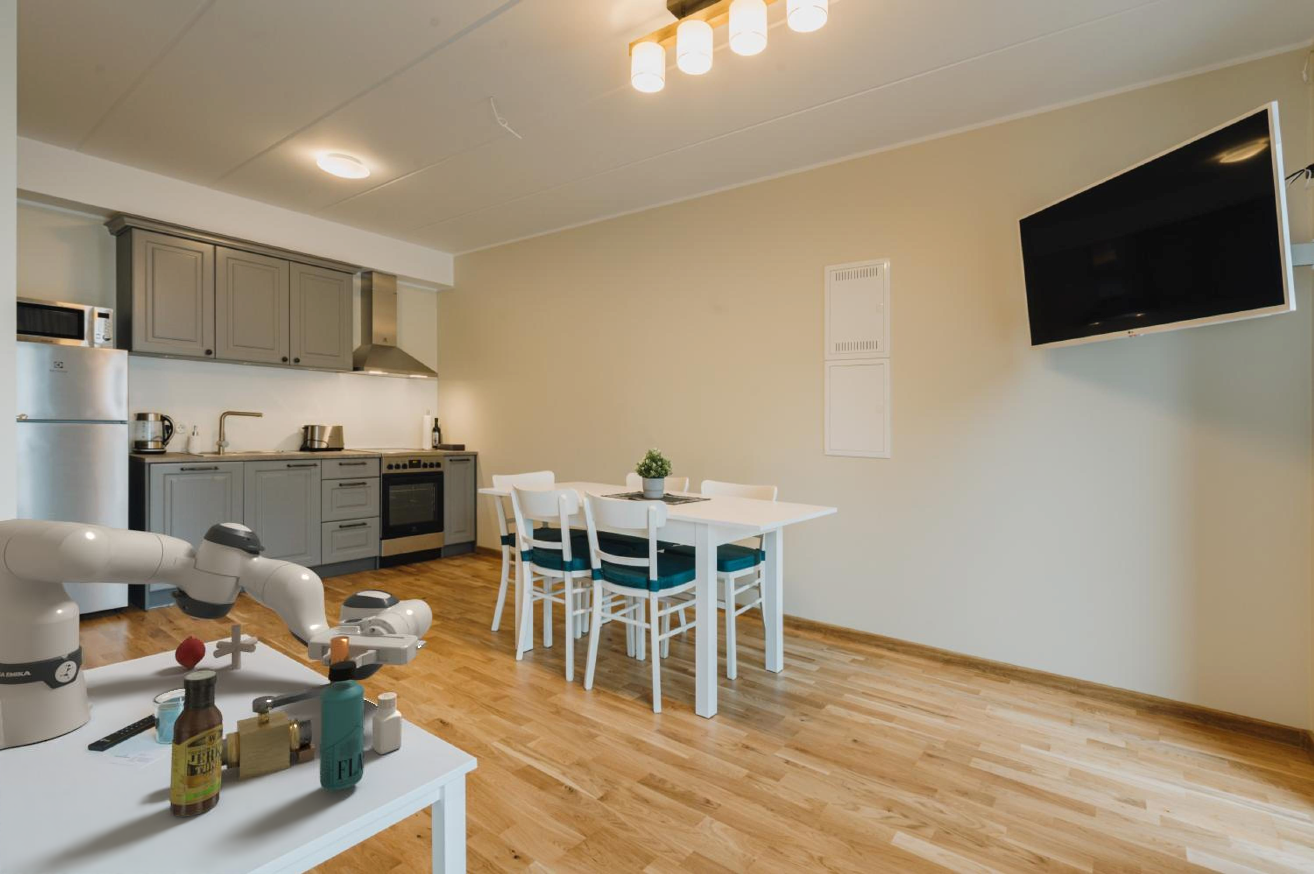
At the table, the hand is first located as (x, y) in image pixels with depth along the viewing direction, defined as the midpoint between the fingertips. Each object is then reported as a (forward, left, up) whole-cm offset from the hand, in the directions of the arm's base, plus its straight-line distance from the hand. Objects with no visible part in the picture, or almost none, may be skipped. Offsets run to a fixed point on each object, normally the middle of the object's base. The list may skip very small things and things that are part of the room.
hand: (339, 662), depth 115 cm
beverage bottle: (+9, -13, -15) cm, 22 cm away
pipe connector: (-46, +29, -15) cm, 56 cm away
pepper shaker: (+9, 0, -15) cm, 18 cm away
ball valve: (-9, -10, -15) cm, 20 cm away
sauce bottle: (-9, -21, -15) cm, 27 cm away
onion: (-56, +27, -15) cm, 64 cm away
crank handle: (-4, -4, -5) cm, 8 cm away
